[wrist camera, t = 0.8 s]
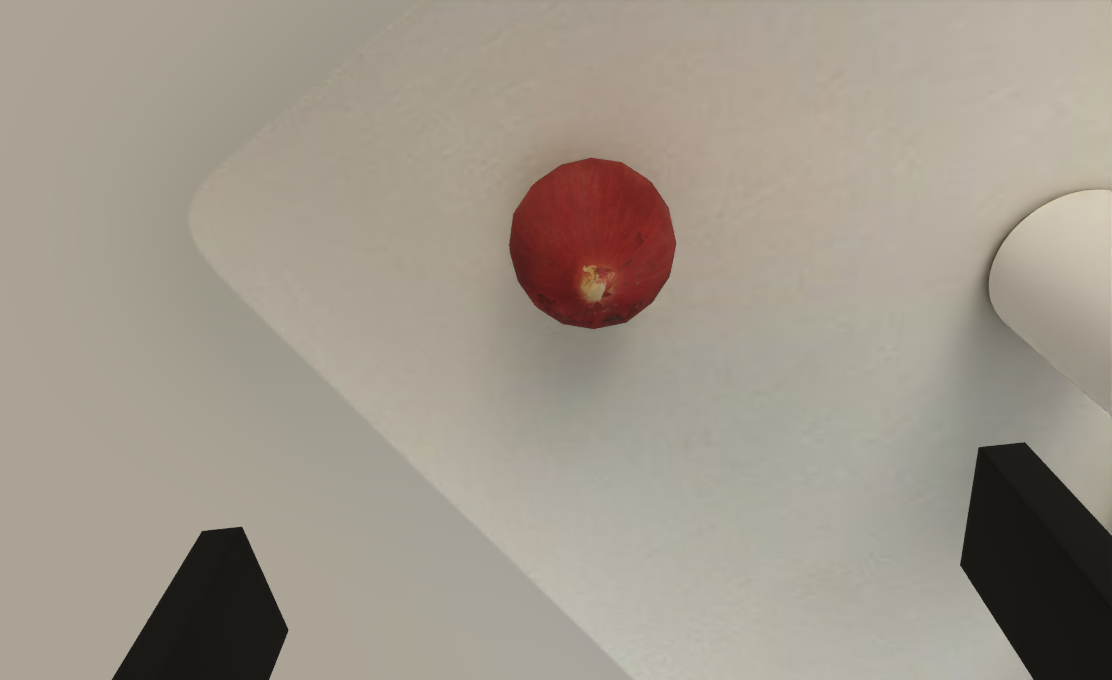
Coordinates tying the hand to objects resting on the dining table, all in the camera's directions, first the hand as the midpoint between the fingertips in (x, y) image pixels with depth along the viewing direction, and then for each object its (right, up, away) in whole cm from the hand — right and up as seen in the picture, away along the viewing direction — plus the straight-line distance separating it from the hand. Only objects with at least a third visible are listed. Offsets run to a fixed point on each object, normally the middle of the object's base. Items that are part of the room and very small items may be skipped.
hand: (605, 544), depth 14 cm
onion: (0, +9, +16) cm, 18 cm away
